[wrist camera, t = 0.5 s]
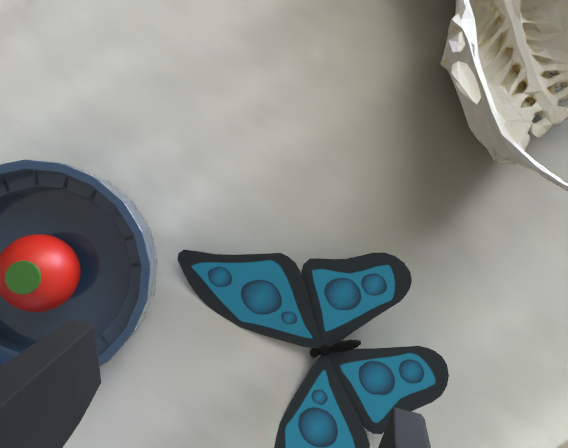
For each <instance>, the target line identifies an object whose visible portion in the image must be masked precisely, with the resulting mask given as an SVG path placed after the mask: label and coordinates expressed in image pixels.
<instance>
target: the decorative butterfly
mask: <svg viewBox="0 0 568 448" xmlns="http://www.w3.org/2000/svg"><path fill="white" fill-rule="evenodd" d="M178 261H179V263H180V266H181V268H182V270H183V272H184V274H185V276H186V278H187V280H188V282H189V283H190V285H191V287H192V288H193V290H194V291H195V292H196V294H197V295H198V296H199V298H200V299H201V300H202V301H203V302H204V303H205V304H206V305H207V306H209V307H210V308H211V309H213V310H214V311H215V312H217V313H218V314H220V315H221V316H223V317H225V318H226V319H228V320H230V321H231V322H233V323H235V324H236V325H238V326H240V327H242V328H245V329H248V330H250V331H253V332H256V333H259V334H262V335H265V336H269V337H272V338H275V339H279V340H282V341H286V342H289V343H293V344H296V345H299V346H303V347H310V348H312V349H311V351H310V355H311V356H312V357H313V358H314V357H317V356H319V355H322V356H321V357H320V358H319V359H318V360H317V361H316V363H315V364H314V365H313V366H312V367H311V369H310V371H309V372H308V374H307V376H306V377H305V379H304V381H303V382H302V384H301V386H300V387H299V389H298V391H297V392H296V394H295V396H294V398H293V399H292V401H291V403H290V405H289V406H288V408H287V410H286V412H285V414H284V416H283V418H282V420H281V423H280V426H279V430H278V434H277V438H276V443H275V447H274V448H369V445H370V444H369V441H368V438H367V435H366V431H365V429H364V427H365V428H366V429H367V430H368V431H370V432H372V433H373V434H382V433H383V432H384V431H385V429H386V426H387V423H388V421H389V418H390V415H391V413H392V410H393V407H396V408H399V409H403V410H407V411H413V410H415V409H417V408H419V407H422V406H424V405H426V404H429V403H431V402H433V401H434V400H436V399H437V398H438V397H440V396H441V395H442V393H443V392H444V390H445V388H446V386H447V382H448V376H449V374H448V369H447V364H446V363H445V361H444V359H443V358H442V356H440V355H439V354H438V353H437V352H435V351H433V350H431V349H428V348H425V347H420V346H410V347H396V348H377V349H354V348H357V347H358V346H359V345H360V344H361V342H360V341H358V340H346V341H341V340H342V339H343V338H345V337H346V336H348V335H349V334H350V333H352V332H353V331H355V330H356V329H358V328H359V327H361V326H362V325H364V324H365V323H367V322H368V321H370V320H371V319H373V318H375V317H376V316H378V315H379V314H381V313H382V312H384V311H386V310H387V309H389V308H390V307H392V306H394V305H395V304H397V303H399V302H400V301H401V300H402V299H403V298H404V297H405V295H406V294H407V292H408V291H409V289H410V286H411V281H412V279H411V274H410V271H409V269H408V268H407V266H406V265H405V263H404V262H402V261H401V260H400V259H398V258H397V257H396V256H393V255H390V254H387V253H370V254H366V255H362V256H358V257H353V258H349V259H309V260H308V261H307V262H306V263H304V265H303V269H302V275H301V273H300V271H299V269H298V267H297V265H296V263H295V262H294V261H292V260H291V259H290V258H289V257H288V256H285V255H283V254H281V253H272V254H247V255H220V254H210V253H204V252H197V251H189V250H183V251H181V252H180V253H179V255H178ZM339 341H341V342H339ZM337 342H339V343H337ZM335 343H336V344H335ZM333 344H334V345H333ZM331 345H332V346H331ZM363 426H364V427H363Z"/></svg>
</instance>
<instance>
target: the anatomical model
mask: <svg viewBox="0 0 568 448" xmlns="http://www.w3.org/2000/svg"><path fill="white" fill-rule="evenodd" d="M440 64H441V65H442V66H443V67H444V68H446V69H447V70H448V71H449V73H450V76H451V79H452V81H453V84H454V86H455V89H456V92H457V94H458V97H459V99H460V102H461V105H462V107H463V110H464V113H465V117H466V120H467V123H468V126H469V128H470V130H471V131H472V133H473V134H474V136H475V137H476V138H477V139H478V140H479V141H480V142H481V143H482V144H483V145H484V146H485V147H486V149H487V150H488V151H489V153H490V155H491V156H492V158H493V159H494V161H495V162H496V163H498V164H520V165H522V166H524V167H526V168H529V169H532V170H535V171H536V172H538V173H539V174H540V175H542V176H543V177H545V178H546V179H547V180H549V181H551V182H553V183H554V184H556V185H558V186H560V187H562V188H563V189H565V190H567V191H568V184H567V183H565V182H564V181H563V180H561V179H560V178H558V177H557V176H556V175H554V174H553V173H551V172H550V171H549V170H547V169H546V168H544V167H543V166H542V165H540V164H539V163H538V162H537V161H535V160H534V159H533V158H532V157H530V156H529V155H528V154H527V153H526V152H525V150H526V148H527V145H528V143H529V141H530V136H529V135H528V133H527V132H528V131H529V130H530V132H531V133H532V134H534V135H535V136H536V137H538V138H540V137H541V136H542V135H543V134H544V133H545V132H546V131H547V130H548V129H549V128H550V127H551V126H554V125H559V124H561V123H562V122H563V121H564V120H565V119H566V118H567V117H568V107H564V108H562V107H561V106H559V105H558V103H559V102H563V101H566V100H568V0H456V13H455V16H454V17H453V18H452V19H451V22H450V25H449V28H448V35H447V42H446V46H445V51H444V54H443V57H442V60H441V63H440ZM551 73H555V74H554V75H552V76H551V77H550V75H551ZM557 87H565V88H564V89H562V90H561V91H560V92H559V93H557V92H556V91H555V89H554V88H557ZM536 114H538V115H539V116H541V117H542V119H541V120H540V121H538V122H537V123H535V124H534V123H533V122H532V120H533V118H534V117H535V115H536Z"/></svg>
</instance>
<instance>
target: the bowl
mask: <svg viewBox="0 0 568 448" xmlns="http://www.w3.org/2000/svg"><path fill="white" fill-rule="evenodd" d="M33 234H45V235H51V236H54V237H57V238H59V239H61V240H63V241H64V242H66V243H67V244H68V245H69V246H70V247H71V248H72V249H73V250H74V252H75V253H76V255H77V257H78V259H79V263H80V268H81V275H80V280H79V284H78V286H77V288H76V290H75V292H74V293H73V295H72V296H71V297H70V298H69V299H68V300H67V301H66V302H64V303H63V304H62V305H60V306H58V307H56V308H54V309H51V310H48V311H43V312H28V311H24V310H20V309H18V308H16V307H14V306H12V305H11V304H9V303H8V302H7V301H6V300H5V299H4V298H3V297H2V296H1V294H0V366H1V365H3V364H4V363H6V362H7V361H9V360H10V359H12V358H14V357H15V356H17V355H18V354H20V353H21V352H23V351H24V350H26V349H27V348H29V347H30V346H32V345H33V344H35V343H36V342H38V341H39V340H41V339H42V338H44V337H45V336H47V335H48V334H50V333H51V332H53V331H54V330H56V329H57V328H59V327H60V326H62V325H63V324H65V323H66V322H68V321H70V320H71V319H73V320H76V321H80V322H84V323H88V324H91V325H95V332H96V341H97V350H98V359H99V366H101V365H102V364H104V363H106V362H107V361H109V360H110V359H111V358H112V357H113V356H114V355H115V353H116V352H117V351H118V350H119V349H120V348H121V347H122V345H123V344H124V343H125V342H126V341H127V340H128V339H129V337H130V336H131V335H132V334H133V333H134V332H135V330H136V329H137V328H138V327H139V325H140V324H141V323H142V321H143V319H144V317H145V314H146V312H147V310H148V308H149V305H150V303H151V301H152V298H153V296H154V292H155V285H156V274H157V256H156V252H155V248H154V244H153V239H152V235H151V231H150V229H149V227H148V226H147V224H146V222H145V221H144V219H143V217H142V216H141V214H140V213H139V211H138V209H137V208H136V206H135V204H134V203H133V202H132V201H131V200H130V199H128V198H127V197H126V196H125V195H124V194H123V193H121V192H120V191H119V190H118V189H117V188H116V187H114V186H113V185H112V184H111V183H110V182H108V181H106V180H104V179H101V178H99V177H97V176H94V175H92V174H90V173H87V172H85V171H83V170H80V169H78V168H75V167H71V166H68V165H65V164H62V163H53V162H43V161H33V160H21V161H16V162H11V163H6V164H1V165H0V255H1V253H2V252H3V251H4V249H5V248H6V247H7V246H8V245H10V244H11V243H12V242H14V241H15V240H17V239H19V238H22V237H24V236H28V235H33Z"/></svg>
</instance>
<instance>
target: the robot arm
mask: <svg viewBox="0 0 568 448" xmlns="http://www.w3.org/2000/svg"><path fill="white" fill-rule="evenodd" d="M100 383H101V378H100V369H99V359H98V350H97V341H96V332H95V325H91V324H88V323H84V322H80V321H76V320H73V319H71V320H70V321H68V322H66V323H65V324H63V325H62V326H60V327H59V328H57V329H56V330H54V331H53V332H51V333H50V334H48V335H47V336H45V337H44V338H42V339H41V340H39V341H38V342H36V343H35V344H33V345H32V346H30V347H29V348H27V349H26V350H24V351H23V352H21V353H20V354H18V355H17V356H15V357H14V358H12V359H10V360H9V361H7V362H6V363H4V364H3V365H1V366H0V448H62V447H63V446H64V444H65V443H66V442H67V440H68V439H69V437H70V436H71V434H72V433H73V431H74V430H75V428H76V427H77V425H78V424H79V423H80V421H81V419H82V417H83V415H84V414H85V412H86V410H87V408H88V406H89V405H90V403H91V401H92V399H93V397H94V395H95V393H96V391H97V389H98V387H99V385H100ZM378 448H431V446H430V442H429V438H428V433H427V429H426V424H425V419H424V418H423V416H422V415H421V414H418V413H414V412H410V411H407V410H403V409H399V408H396V407H393V410H392V413H391V415H390V418H389V421H388V423H387V426H386V429H385V431H384V434H383V437H382V439H381V442H380V445H379V447H378Z"/></svg>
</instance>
